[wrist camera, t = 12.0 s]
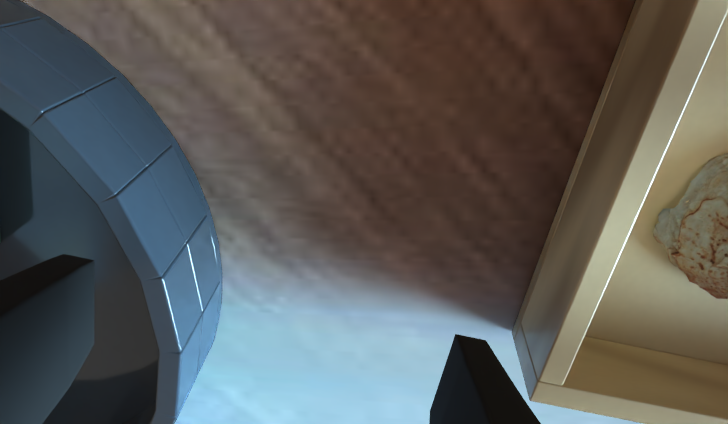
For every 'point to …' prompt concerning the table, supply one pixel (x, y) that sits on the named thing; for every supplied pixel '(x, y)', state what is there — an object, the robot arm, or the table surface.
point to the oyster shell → (700, 229)
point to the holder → (636, 236)
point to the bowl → (106, 219)
